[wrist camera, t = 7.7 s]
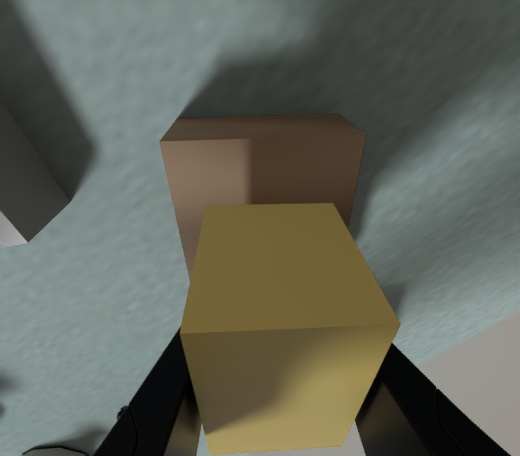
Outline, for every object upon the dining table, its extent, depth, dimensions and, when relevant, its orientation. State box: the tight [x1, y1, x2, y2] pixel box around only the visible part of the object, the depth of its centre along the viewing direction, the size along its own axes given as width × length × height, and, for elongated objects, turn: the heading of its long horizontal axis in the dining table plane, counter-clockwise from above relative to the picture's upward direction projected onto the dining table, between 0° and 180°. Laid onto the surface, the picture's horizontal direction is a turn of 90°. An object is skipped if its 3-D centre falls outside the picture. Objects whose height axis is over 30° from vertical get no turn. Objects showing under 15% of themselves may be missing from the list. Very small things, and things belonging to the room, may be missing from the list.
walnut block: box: [159, 114, 367, 281], centre depth 13 cm, size 9×7×4 cm
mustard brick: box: [180, 203, 400, 455], centre depth 9 cm, size 6×4×4 cm, turn 179°
